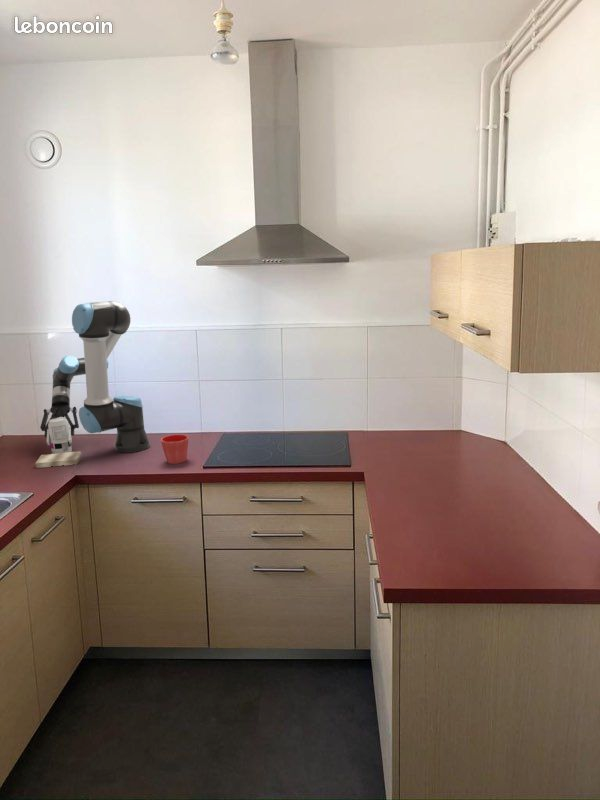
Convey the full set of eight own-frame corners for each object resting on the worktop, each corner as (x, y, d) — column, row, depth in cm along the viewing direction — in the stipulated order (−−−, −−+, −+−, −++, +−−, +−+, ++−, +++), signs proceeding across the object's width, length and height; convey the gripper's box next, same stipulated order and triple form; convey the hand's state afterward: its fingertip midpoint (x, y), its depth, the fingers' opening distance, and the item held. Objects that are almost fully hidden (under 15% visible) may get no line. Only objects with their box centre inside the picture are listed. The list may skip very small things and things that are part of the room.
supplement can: (47, 455, 268) (43, 421, 265) (61, 449, 275) (57, 417, 272) (62, 456, 265) (58, 422, 261) (76, 451, 272) (72, 418, 269)
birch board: (81, 455, 265) (80, 451, 264) (77, 464, 253) (76, 459, 253) (41, 459, 262) (41, 454, 261) (35, 468, 250) (35, 463, 250)
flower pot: (182, 465, 246) (180, 442, 243) (158, 464, 249) (156, 441, 247) (194, 457, 255) (192, 434, 253) (171, 456, 259) (169, 433, 257)
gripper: (86, 401, 283) (86, 444, 271) (38, 405, 279) (35, 449, 267) (83, 392, 276) (83, 436, 264) (34, 395, 272) (31, 440, 260)
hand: (59, 442), depth 266 cm, fingers closed on supplement can, 8 cm apart
